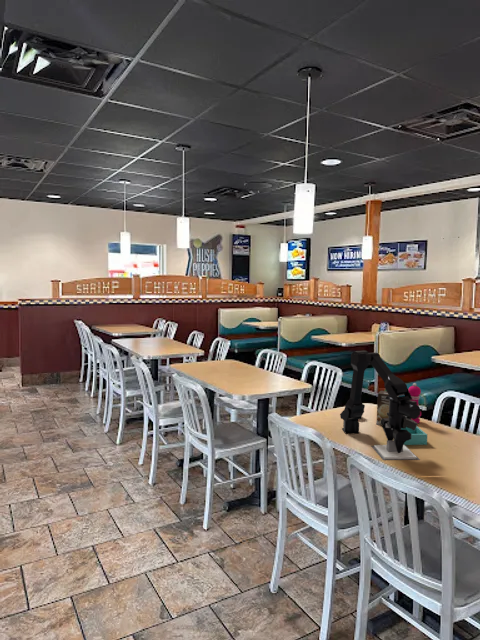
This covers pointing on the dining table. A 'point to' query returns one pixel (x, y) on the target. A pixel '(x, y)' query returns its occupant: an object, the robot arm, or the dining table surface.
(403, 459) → the mat
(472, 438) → the dining table surface
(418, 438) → the dish
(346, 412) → the robot arm
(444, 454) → the dining table surface
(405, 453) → the lid
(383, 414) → the coffee box
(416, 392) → the pepper mill
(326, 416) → the dining table surface
